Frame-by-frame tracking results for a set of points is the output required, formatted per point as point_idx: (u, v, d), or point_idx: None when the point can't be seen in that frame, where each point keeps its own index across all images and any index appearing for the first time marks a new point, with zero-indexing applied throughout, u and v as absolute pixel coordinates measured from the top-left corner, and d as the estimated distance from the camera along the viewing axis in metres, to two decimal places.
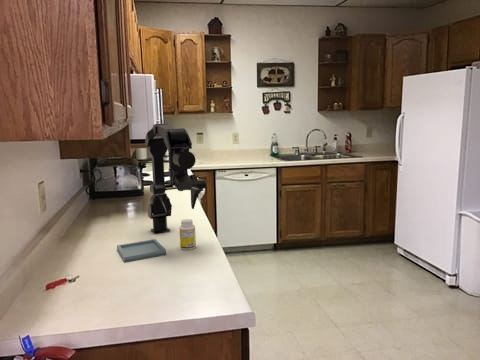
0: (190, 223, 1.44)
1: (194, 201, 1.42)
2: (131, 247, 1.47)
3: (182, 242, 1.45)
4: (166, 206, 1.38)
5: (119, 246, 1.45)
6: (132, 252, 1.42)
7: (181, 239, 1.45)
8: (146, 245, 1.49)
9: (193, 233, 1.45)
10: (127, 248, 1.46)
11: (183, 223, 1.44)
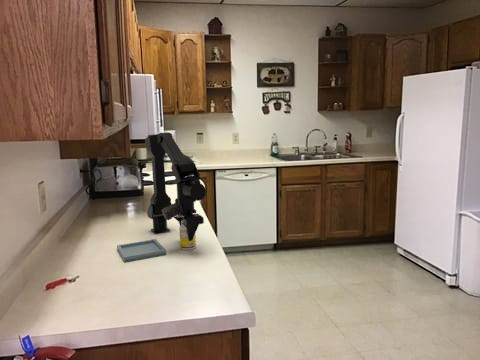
0: None
1: (187, 233, 1.43)
2: (131, 247, 1.47)
3: (182, 242, 1.45)
4: None
5: (119, 246, 1.45)
6: (132, 252, 1.42)
7: (181, 239, 1.45)
8: (146, 245, 1.49)
9: None
10: (127, 248, 1.46)
11: None
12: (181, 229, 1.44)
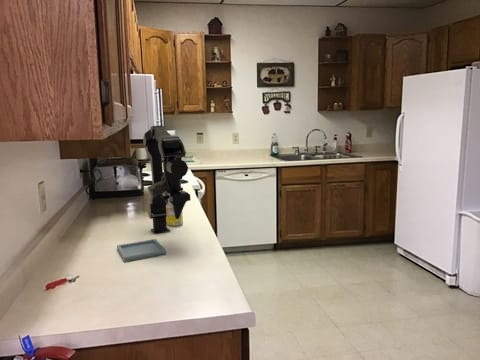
0: None
1: (174, 211, 1.41)
2: (131, 247, 1.47)
3: (169, 220, 1.42)
4: None
5: (119, 246, 1.45)
6: (132, 252, 1.42)
7: (168, 217, 1.43)
8: (146, 245, 1.49)
9: None
10: (127, 248, 1.46)
11: None
12: (168, 207, 1.42)
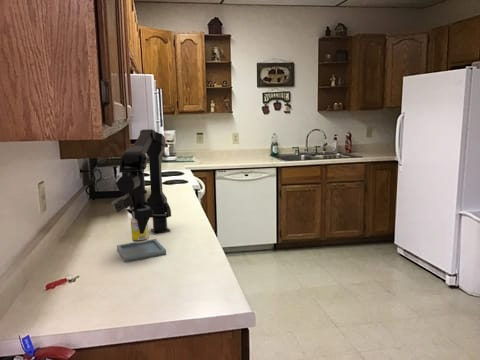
0: None
1: (138, 226, 1.39)
2: (131, 247, 1.47)
3: (133, 235, 1.41)
4: None
5: (119, 246, 1.45)
6: (132, 252, 1.42)
7: (132, 232, 1.41)
8: (146, 245, 1.49)
9: None
10: (127, 248, 1.46)
11: None
12: (132, 222, 1.40)
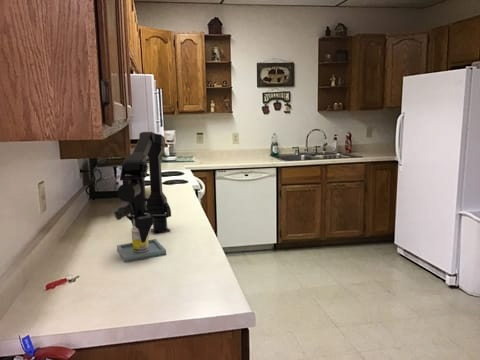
0: None
1: None
2: (131, 247, 1.47)
3: (134, 244, 1.41)
4: None
5: (119, 246, 1.45)
6: (132, 252, 1.42)
7: (133, 241, 1.41)
8: None
9: None
10: (127, 248, 1.46)
11: None
12: (133, 231, 1.41)
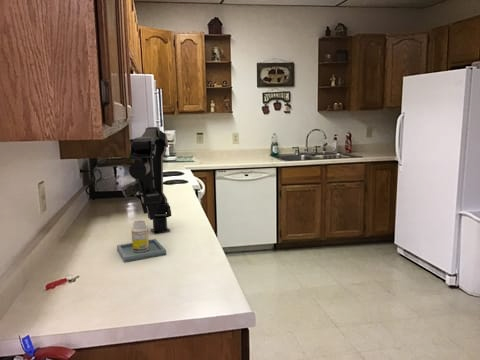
0: (142, 225, 1.41)
1: (148, 212, 1.42)
2: (131, 247, 1.47)
3: (134, 244, 1.41)
4: (142, 207, 1.51)
5: (119, 246, 1.45)
6: (132, 252, 1.42)
7: (133, 241, 1.41)
8: None
9: (146, 235, 1.42)
10: (127, 248, 1.46)
11: (135, 225, 1.41)
12: (133, 231, 1.41)
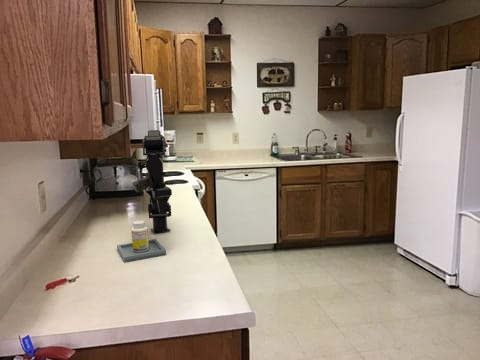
0: (142, 225, 1.41)
1: (158, 206, 1.47)
2: (131, 247, 1.47)
3: (134, 244, 1.41)
4: (151, 202, 1.56)
5: (119, 246, 1.45)
6: (132, 252, 1.42)
7: (133, 241, 1.42)
8: None
9: (146, 235, 1.42)
10: (127, 248, 1.46)
11: (135, 225, 1.41)
12: (133, 231, 1.41)
